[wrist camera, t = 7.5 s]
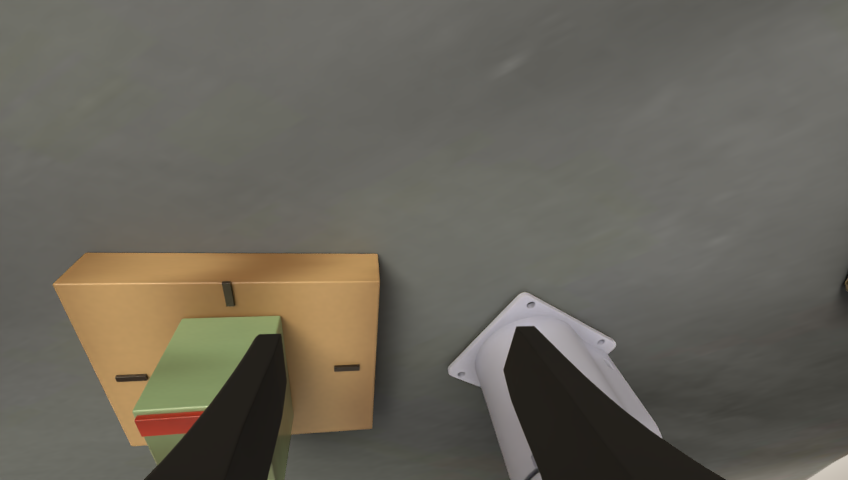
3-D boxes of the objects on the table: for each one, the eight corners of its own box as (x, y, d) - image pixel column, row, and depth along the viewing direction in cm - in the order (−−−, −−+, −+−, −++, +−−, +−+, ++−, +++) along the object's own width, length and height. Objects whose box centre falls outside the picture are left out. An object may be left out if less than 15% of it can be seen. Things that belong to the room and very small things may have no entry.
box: (294, 415, 23) (279, 512, 19) (213, 421, 23) (178, 523, 18) (280, 314, 19) (258, 408, 15) (181, 317, 19) (127, 418, 14)
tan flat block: (378, 251, 21) (380, 281, 19) (371, 396, 28) (372, 432, 25) (84, 250, 19) (47, 284, 17) (150, 410, 25) (130, 450, 23)
